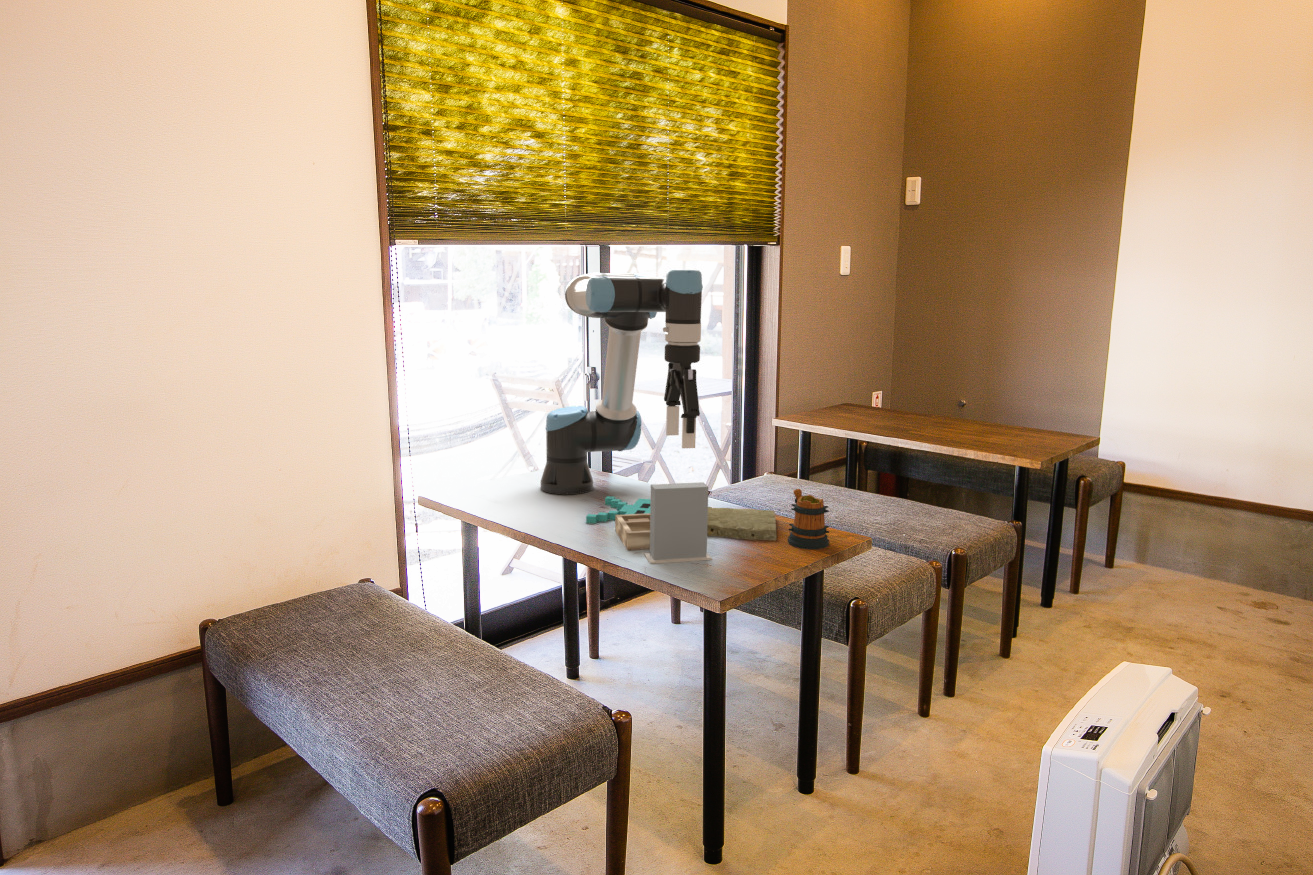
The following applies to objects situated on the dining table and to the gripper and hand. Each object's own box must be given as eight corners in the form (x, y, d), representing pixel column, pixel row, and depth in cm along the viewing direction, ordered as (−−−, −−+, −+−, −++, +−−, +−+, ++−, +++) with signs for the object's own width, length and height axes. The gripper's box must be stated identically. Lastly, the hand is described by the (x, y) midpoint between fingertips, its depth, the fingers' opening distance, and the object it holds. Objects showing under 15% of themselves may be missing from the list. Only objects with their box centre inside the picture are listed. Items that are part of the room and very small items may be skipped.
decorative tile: (697, 517, 228) (697, 504, 227) (775, 520, 226) (775, 507, 225) (692, 539, 210) (693, 525, 209) (777, 543, 208) (778, 529, 207)
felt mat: (644, 554, 196) (644, 553, 196) (704, 551, 200) (704, 549, 199) (650, 563, 191) (650, 561, 190) (712, 559, 194) (712, 558, 194)
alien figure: (586, 524, 220) (664, 530, 216) (586, 516, 220) (664, 522, 216) (607, 504, 239) (679, 509, 235) (607, 496, 239) (679, 501, 235)
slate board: (649, 554, 196) (650, 484, 192) (701, 551, 198) (703, 482, 195) (653, 560, 192) (654, 489, 189) (706, 556, 194) (708, 486, 191)
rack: (615, 530, 214) (615, 514, 213) (686, 526, 218) (686, 511, 217) (627, 550, 199) (627, 533, 199) (703, 545, 204) (704, 528, 203)
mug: (838, 548, 203) (840, 499, 201) (797, 551, 201) (800, 502, 198) (812, 531, 216) (815, 486, 213) (774, 534, 213) (776, 488, 211)
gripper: (651, 337, 197) (650, 430, 201) (680, 349, 173) (678, 454, 177) (684, 337, 199) (681, 429, 203) (717, 349, 175) (713, 453, 179)
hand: (680, 441), depth 190 cm, fingers open, 13 cm apart
